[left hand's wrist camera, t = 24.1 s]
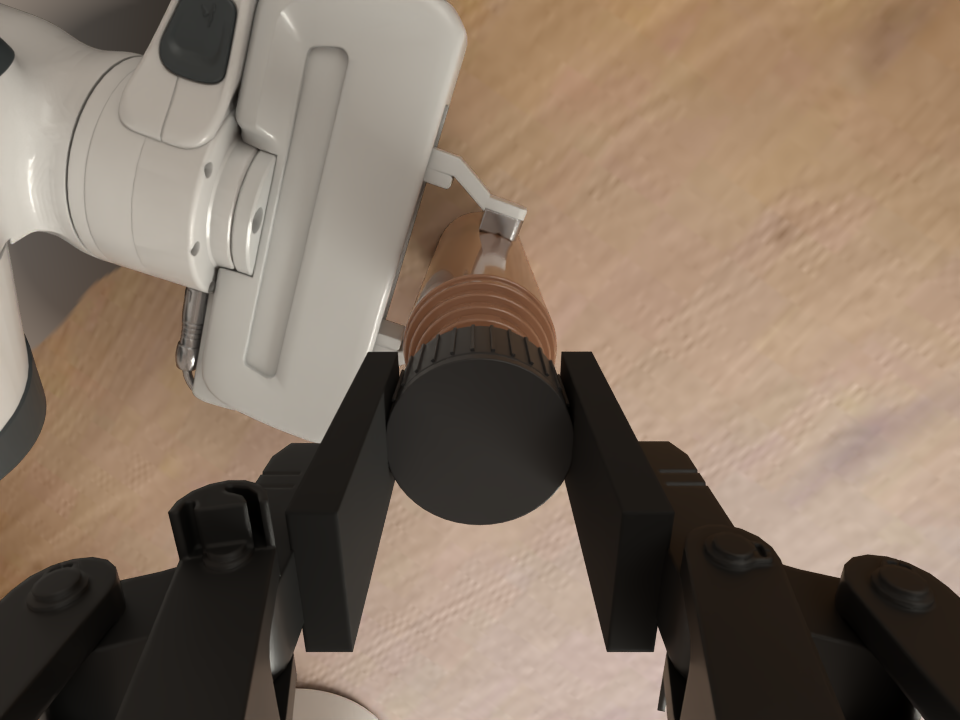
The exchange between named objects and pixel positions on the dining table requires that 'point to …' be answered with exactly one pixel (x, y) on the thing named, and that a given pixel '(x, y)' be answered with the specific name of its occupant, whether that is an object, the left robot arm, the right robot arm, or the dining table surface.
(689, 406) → the dining table surface
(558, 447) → the cap
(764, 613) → the left robot arm
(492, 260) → the bottle
